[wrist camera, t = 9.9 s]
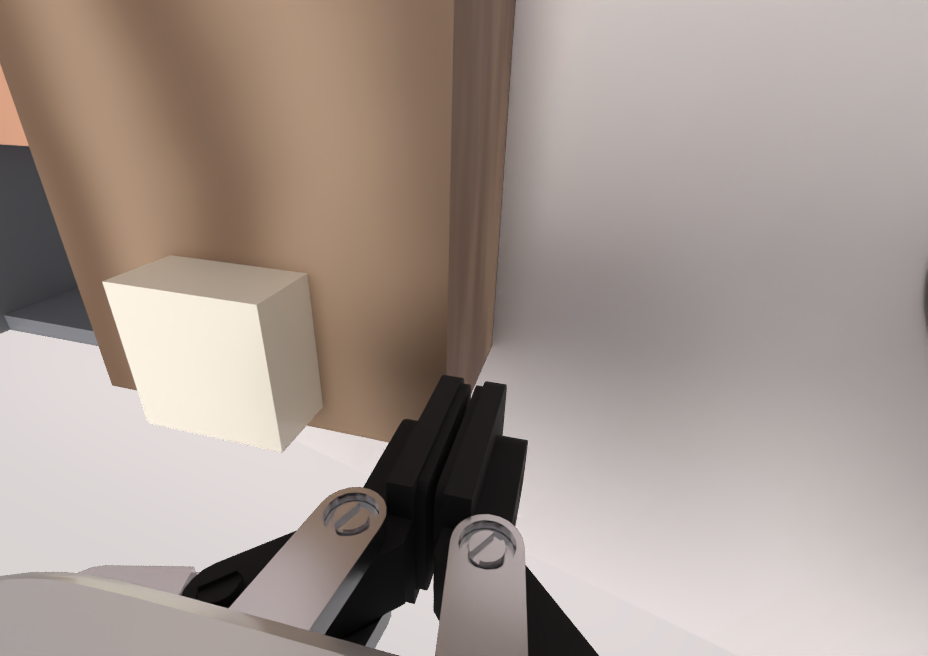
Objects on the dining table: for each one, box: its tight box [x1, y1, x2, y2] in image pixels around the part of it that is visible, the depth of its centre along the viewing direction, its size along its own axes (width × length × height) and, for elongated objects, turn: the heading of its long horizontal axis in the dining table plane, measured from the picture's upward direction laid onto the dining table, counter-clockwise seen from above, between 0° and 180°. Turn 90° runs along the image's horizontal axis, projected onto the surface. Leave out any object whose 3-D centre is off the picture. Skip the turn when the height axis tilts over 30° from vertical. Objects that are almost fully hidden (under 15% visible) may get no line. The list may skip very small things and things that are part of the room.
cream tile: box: [102, 255, 323, 453], centre depth 15 cm, size 5×5×2 cm
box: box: [0, 144, 98, 346], centre depth 21 cm, size 10×17×6 cm, turn 177°
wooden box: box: [0, 0, 515, 442], centre depth 18 cm, size 14×16×8 cm
